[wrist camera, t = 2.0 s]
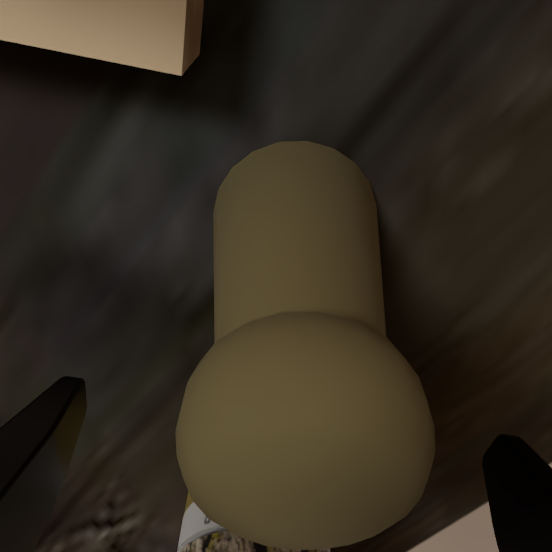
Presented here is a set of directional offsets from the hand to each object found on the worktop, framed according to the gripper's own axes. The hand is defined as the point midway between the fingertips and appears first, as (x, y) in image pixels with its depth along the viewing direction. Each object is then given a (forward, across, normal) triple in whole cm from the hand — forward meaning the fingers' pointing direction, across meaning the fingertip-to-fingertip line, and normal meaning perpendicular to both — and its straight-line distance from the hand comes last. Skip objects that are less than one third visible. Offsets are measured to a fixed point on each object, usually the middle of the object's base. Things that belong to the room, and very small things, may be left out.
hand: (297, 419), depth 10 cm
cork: (+9, 0, 0) cm, 9 cm away
